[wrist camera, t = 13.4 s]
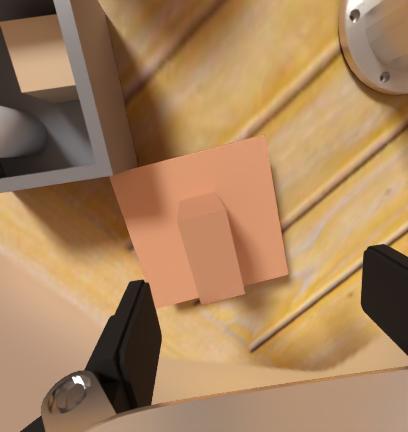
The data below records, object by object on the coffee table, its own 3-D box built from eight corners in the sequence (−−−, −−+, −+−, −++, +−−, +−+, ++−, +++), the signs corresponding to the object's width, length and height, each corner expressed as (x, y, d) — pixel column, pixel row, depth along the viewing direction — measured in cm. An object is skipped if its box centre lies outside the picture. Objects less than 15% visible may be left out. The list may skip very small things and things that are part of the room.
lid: (259, 135, 21) (298, 129, 14) (282, 267, 24) (322, 317, 17) (113, 173, 21) (75, 186, 14) (157, 299, 24) (145, 362, 17)
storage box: (105, 12, 19) (50, -77, 12) (138, 166, 23) (113, 175, 15) (-50, 34, 19) (-211, -44, 11) (7, 186, 22) (-88, 206, 15)
